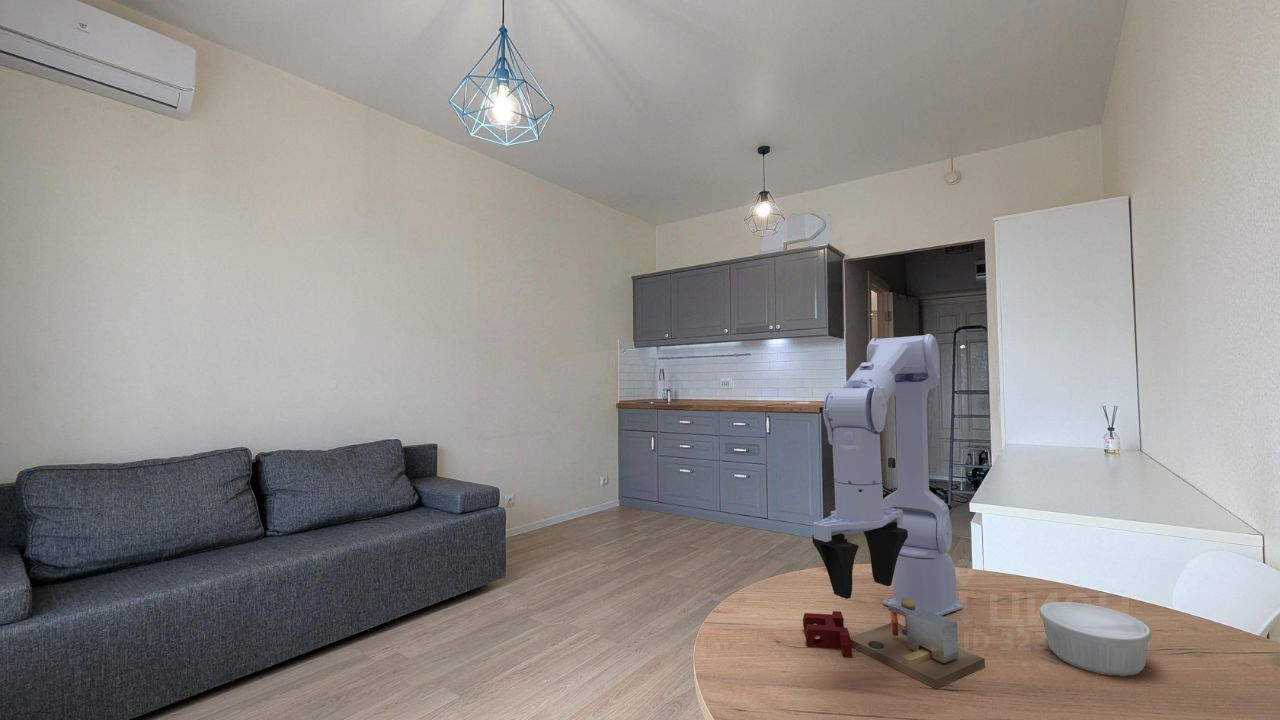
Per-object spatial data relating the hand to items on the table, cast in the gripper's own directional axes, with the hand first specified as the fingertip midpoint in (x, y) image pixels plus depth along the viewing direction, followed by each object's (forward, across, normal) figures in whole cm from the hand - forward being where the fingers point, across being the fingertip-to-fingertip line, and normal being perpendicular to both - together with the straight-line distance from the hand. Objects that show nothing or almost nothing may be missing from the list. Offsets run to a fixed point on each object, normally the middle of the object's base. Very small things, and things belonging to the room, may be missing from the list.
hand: (863, 589), depth 69 cm
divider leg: (+9, -10, +1) cm, 13 cm away
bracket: (+11, -3, -10) cm, 15 cm away
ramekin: (+11, -28, +13) cm, 33 cm away
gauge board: (+10, -9, 0) cm, 14 cm away
